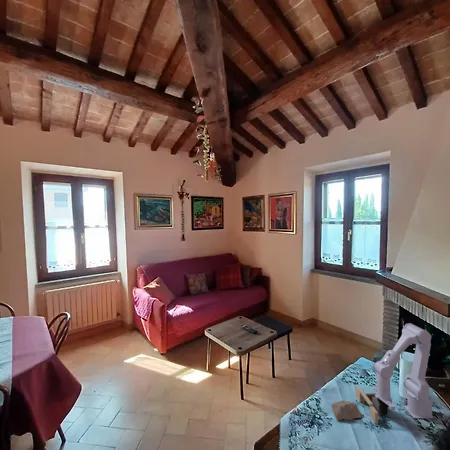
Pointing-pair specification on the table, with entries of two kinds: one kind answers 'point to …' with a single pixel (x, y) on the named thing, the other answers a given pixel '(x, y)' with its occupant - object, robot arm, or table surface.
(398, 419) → the table surface
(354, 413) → the concrete fragment
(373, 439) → the table surface
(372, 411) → the wall frame
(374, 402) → the grey rectangular block
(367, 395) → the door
